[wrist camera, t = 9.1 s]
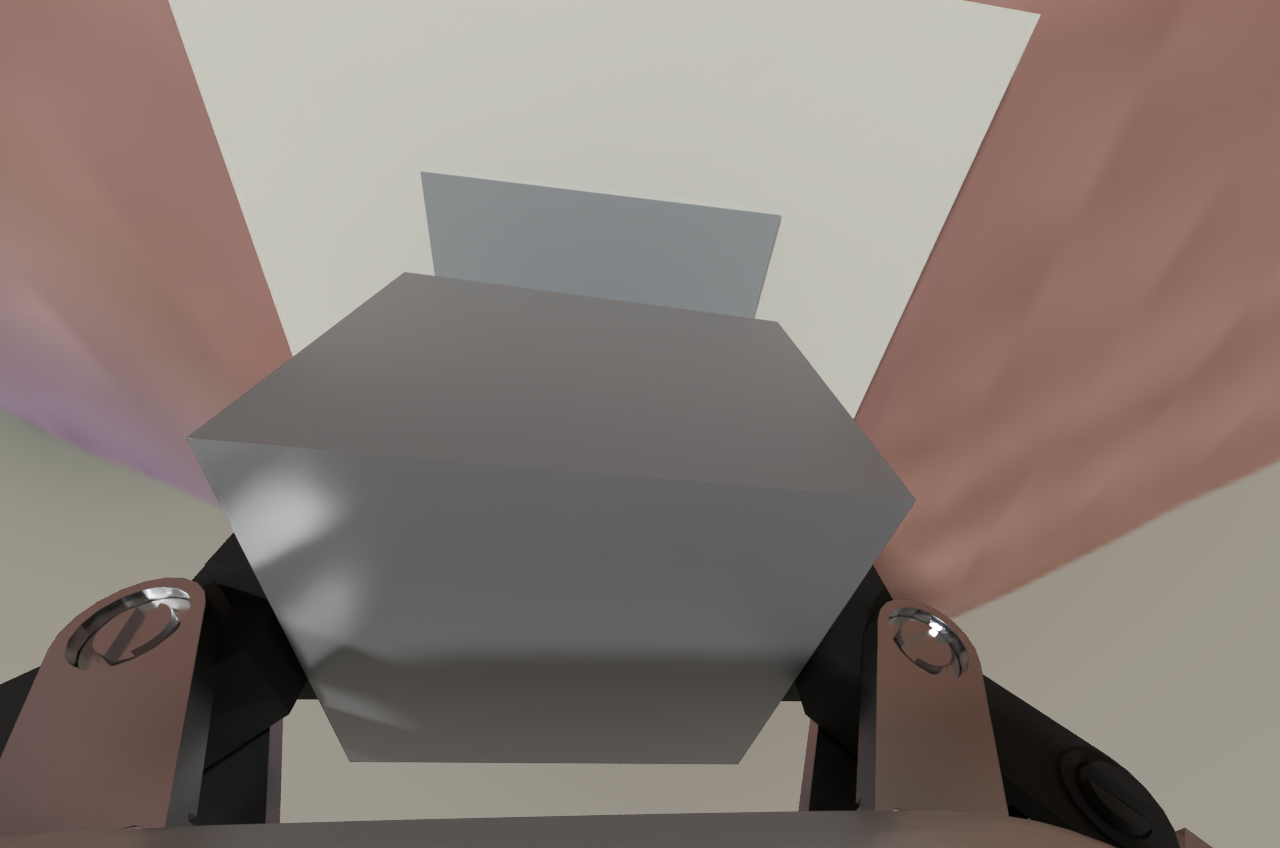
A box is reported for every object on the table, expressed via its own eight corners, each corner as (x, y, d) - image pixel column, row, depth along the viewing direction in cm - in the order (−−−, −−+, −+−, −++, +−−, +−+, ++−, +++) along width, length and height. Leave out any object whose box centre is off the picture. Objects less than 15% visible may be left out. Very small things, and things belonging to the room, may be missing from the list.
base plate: (1001, 23, 11) (1044, 13, 10) (781, 536, 21) (789, 559, 20) (170, -123, 9) (110, -154, 8) (370, 517, 19) (356, 541, 18)
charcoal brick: (777, 321, 9) (917, 500, 5) (698, 555, 13) (737, 764, 9) (404, 272, 8) (186, 437, 4) (440, 538, 12) (349, 761, 8)
